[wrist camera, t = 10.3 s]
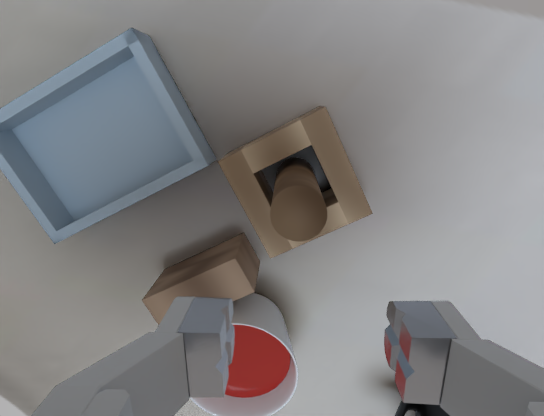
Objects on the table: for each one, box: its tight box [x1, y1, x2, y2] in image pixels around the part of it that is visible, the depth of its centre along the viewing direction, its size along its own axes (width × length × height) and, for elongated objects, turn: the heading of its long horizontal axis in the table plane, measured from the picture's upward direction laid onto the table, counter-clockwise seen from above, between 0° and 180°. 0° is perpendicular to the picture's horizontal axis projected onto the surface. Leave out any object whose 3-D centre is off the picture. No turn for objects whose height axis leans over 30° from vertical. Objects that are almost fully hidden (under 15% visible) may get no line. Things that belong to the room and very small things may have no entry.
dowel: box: [270, 157, 327, 241], centre depth 23 cm, size 3×3×10 cm
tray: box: [0, 28, 216, 244], centre depth 26 cm, size 14×10×3 cm
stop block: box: [142, 233, 260, 325], centre depth 28 cm, size 8×3×5 cm, turn 117°
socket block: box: [218, 106, 373, 258], centre depth 26 cm, size 8×8×4 cm
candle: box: [190, 293, 298, 416], centre depth 29 cm, size 9×9×6 cm
